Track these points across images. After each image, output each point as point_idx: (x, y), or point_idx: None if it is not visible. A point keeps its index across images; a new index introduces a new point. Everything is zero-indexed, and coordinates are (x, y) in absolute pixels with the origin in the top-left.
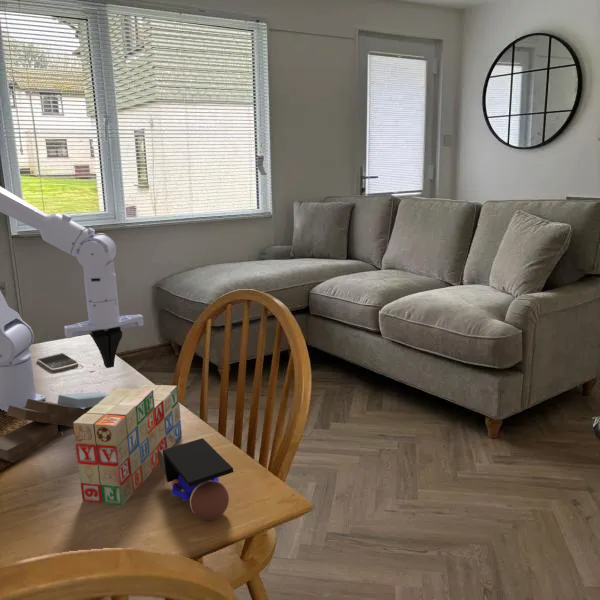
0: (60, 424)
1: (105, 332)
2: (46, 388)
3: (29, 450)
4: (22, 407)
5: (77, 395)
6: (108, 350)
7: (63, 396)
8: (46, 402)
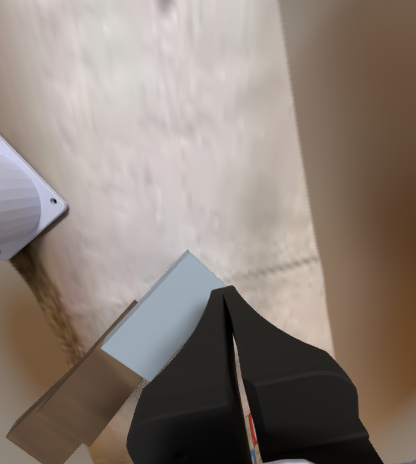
0: None
1: (254, 427)
2: (47, 118)
3: None
4: (37, 407)
5: (144, 331)
6: (238, 389)
7: (114, 357)
8: (83, 404)
